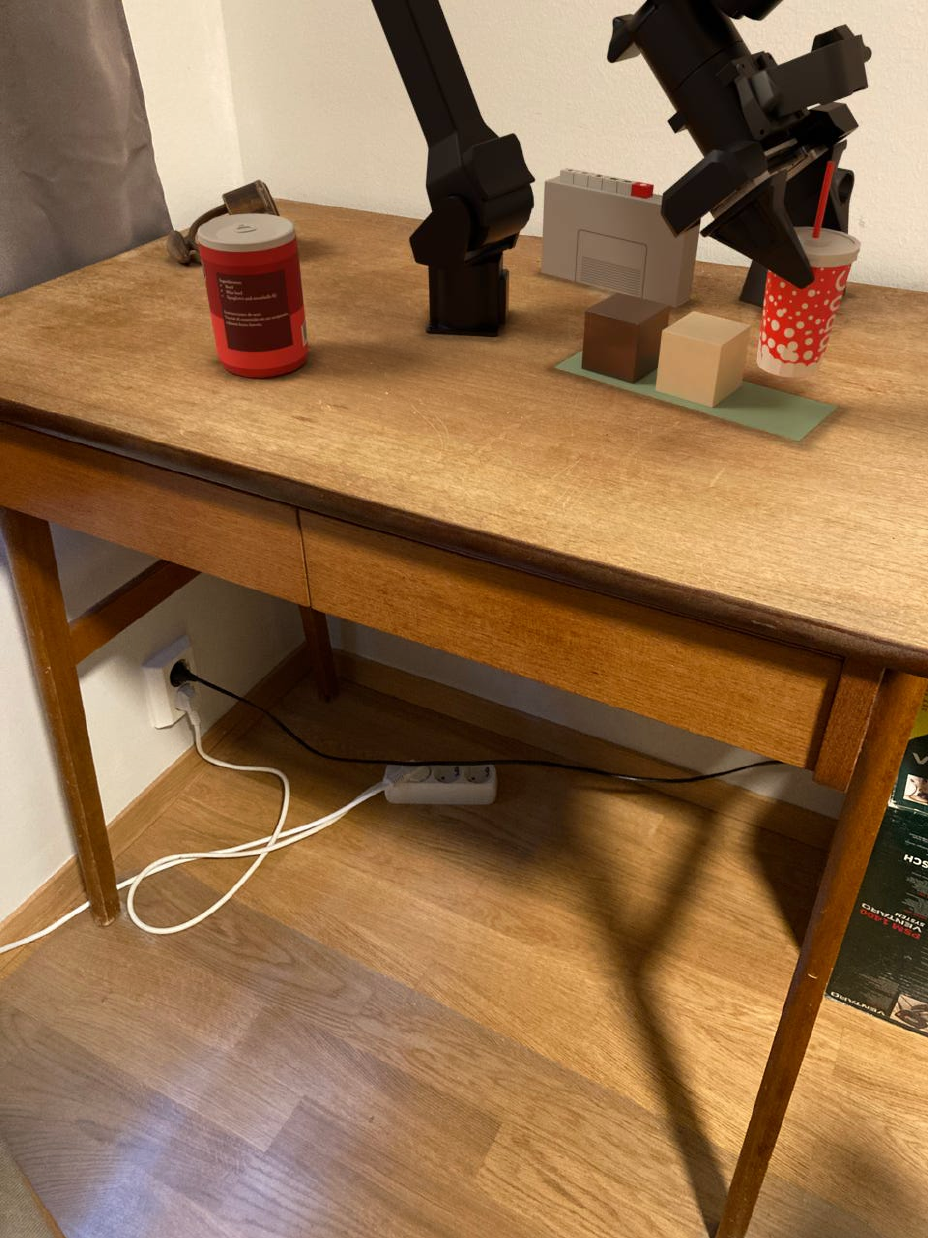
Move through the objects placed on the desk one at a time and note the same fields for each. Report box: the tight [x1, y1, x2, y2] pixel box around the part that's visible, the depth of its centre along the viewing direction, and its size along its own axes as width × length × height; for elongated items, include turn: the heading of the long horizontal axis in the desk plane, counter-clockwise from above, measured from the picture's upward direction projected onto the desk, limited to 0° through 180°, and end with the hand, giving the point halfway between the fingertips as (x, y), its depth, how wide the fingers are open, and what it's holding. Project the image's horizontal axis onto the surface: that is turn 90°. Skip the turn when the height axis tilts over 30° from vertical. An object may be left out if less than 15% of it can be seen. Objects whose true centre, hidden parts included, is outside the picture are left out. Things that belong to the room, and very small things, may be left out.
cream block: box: [655, 310, 752, 408], centre depth 78 cm, size 5×5×5 cm
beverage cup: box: [755, 161, 862, 379], centre depth 69 cm, size 6×6×14 cm
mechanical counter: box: [166, 179, 281, 264], centre depth 105 cm, size 7×13×10 cm
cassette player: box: [540, 167, 702, 309], centre depth 95 cm, size 16×3×10 cm, turn 50°
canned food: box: [197, 214, 309, 379], centre depth 82 cm, size 8×8×11 cm
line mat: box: [553, 350, 838, 443], centre depth 80 cm, size 22×7×1 cm, turn 52°
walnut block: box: [581, 292, 672, 384], centre depth 81 cm, size 5×5×5 cm
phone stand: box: [738, 167, 856, 309], centre depth 92 cm, size 9×6×12 cm, turn 133°
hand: (827, 272), depth 69 cm, fingers closed on beverage cup, 6 cm apart
